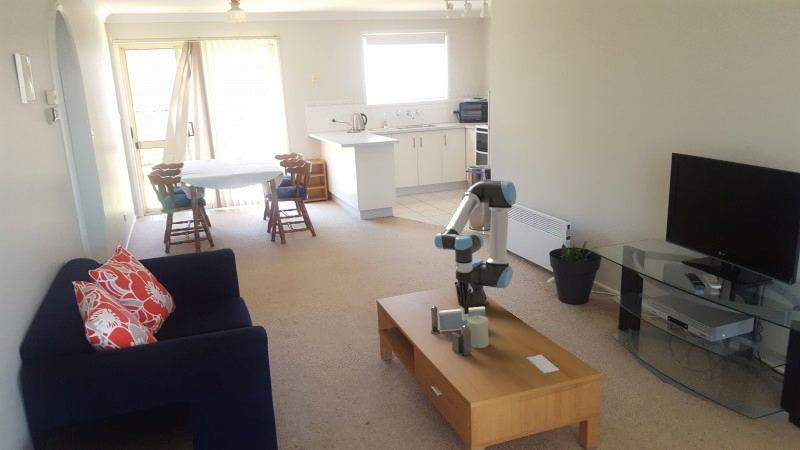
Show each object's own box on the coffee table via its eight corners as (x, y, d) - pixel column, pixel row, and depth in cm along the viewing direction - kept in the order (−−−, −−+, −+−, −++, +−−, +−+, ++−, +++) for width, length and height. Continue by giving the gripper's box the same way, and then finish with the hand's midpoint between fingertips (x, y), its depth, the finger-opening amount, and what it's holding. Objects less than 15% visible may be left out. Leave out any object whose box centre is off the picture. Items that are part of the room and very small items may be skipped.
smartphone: (544, 373, 228) (525, 357, 242) (544, 375, 228) (525, 358, 242) (560, 370, 230) (541, 353, 244) (560, 371, 230) (541, 355, 244)
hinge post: (436, 329, 275) (435, 304, 271) (441, 332, 271) (440, 306, 268) (428, 331, 273) (427, 306, 270) (433, 334, 269) (432, 309, 266)
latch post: (461, 347, 255) (460, 319, 252) (471, 354, 248) (471, 326, 245) (452, 349, 253) (451, 322, 250) (462, 357, 246) (461, 328, 243)
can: (488, 338, 262) (487, 314, 259) (489, 348, 253) (488, 322, 250) (467, 339, 263) (467, 314, 260) (468, 348, 254) (467, 322, 251)
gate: (440, 330, 271) (440, 312, 268) (439, 328, 273) (439, 310, 271) (485, 326, 273) (485, 308, 271) (484, 324, 275) (484, 306, 273)
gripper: (449, 268, 263) (450, 316, 268) (464, 275, 251) (466, 326, 257) (463, 265, 266) (464, 313, 271) (479, 272, 255) (480, 322, 260)
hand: (465, 319), depth 264 cm, fingers closed
